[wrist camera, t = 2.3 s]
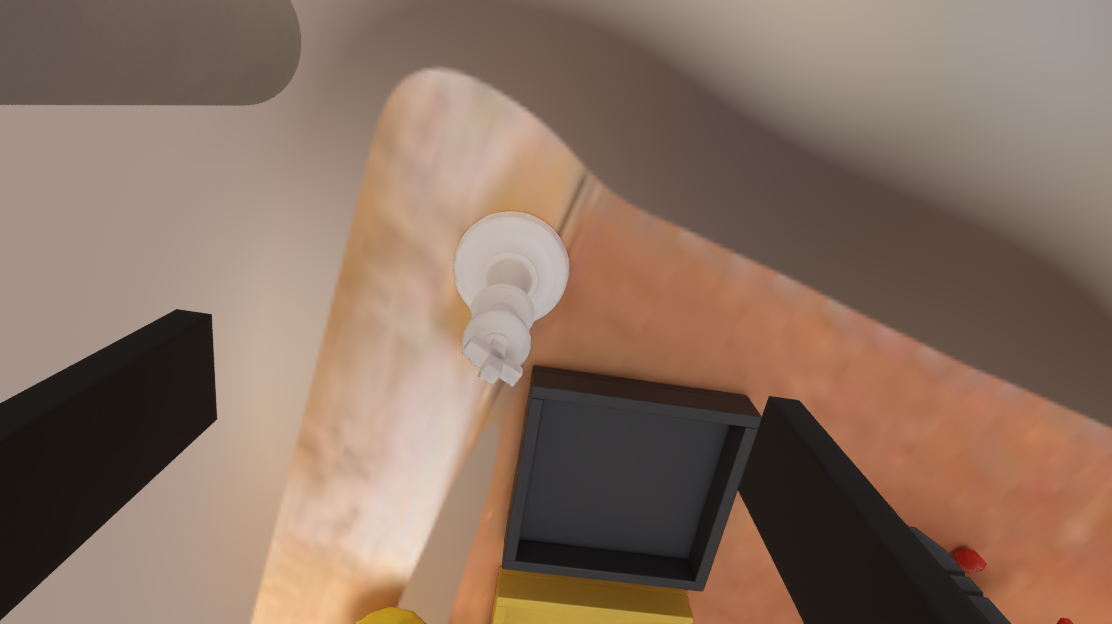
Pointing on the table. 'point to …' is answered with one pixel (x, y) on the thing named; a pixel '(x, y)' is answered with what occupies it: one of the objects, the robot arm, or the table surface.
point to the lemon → (391, 617)
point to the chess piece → (507, 288)
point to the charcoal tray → (625, 478)
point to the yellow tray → (584, 601)
